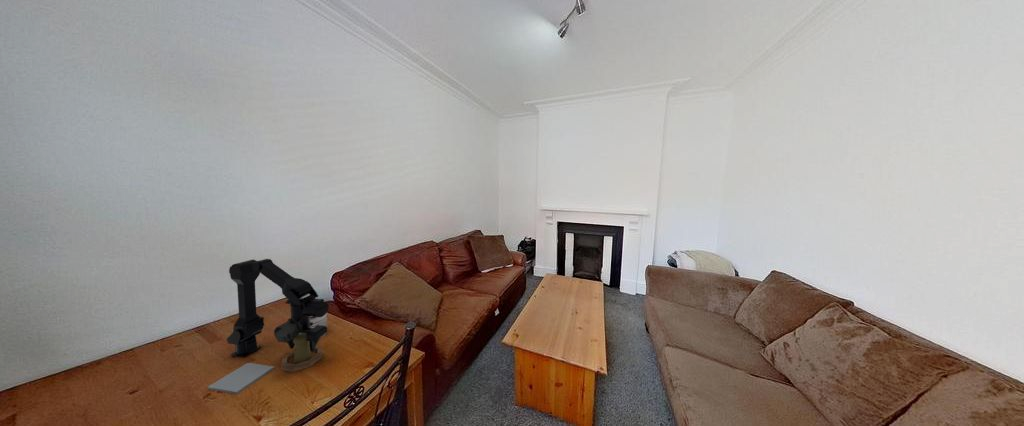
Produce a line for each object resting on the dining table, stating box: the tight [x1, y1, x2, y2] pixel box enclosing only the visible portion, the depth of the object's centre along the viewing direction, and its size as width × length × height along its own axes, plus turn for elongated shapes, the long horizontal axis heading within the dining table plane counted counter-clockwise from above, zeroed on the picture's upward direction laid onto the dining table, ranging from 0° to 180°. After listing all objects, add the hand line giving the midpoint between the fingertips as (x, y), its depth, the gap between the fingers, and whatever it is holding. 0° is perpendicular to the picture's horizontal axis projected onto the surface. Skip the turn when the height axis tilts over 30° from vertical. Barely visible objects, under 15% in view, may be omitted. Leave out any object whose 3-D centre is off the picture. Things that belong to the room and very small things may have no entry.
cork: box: [292, 333, 313, 364], centre depth 101 cm, size 6×6×11 cm
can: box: [298, 312, 328, 339], centre depth 117 cm, size 11×11×12 cm
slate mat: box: [206, 362, 275, 395], centre depth 91 cm, size 12×12×1 cm
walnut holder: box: [280, 345, 323, 373], centre depth 101 cm, size 12×12×2 cm
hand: (302, 349), depth 101 cm, fingers open, 9 cm apart
